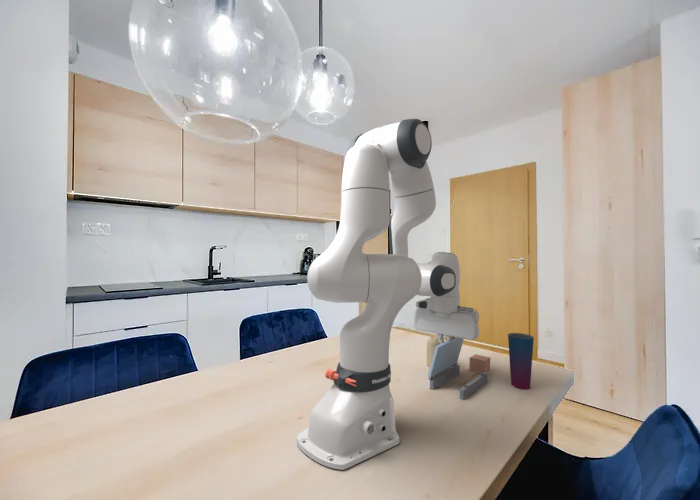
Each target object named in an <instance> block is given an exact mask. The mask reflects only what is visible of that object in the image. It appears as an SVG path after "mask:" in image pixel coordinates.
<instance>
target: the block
mask: <svg viewBox="0 0 700 500" xmlns="http://www.w3.org/2000/svg"><path fill="white" fill-rule="evenodd" d="M469 371H470V372H475V373H477V374H478V373H479V374H481V373H484V372H487V373H489V372H490V371H491V357H489V356H485V355H481V354H477V353H476V354H473V355H471V356H470V357H469Z"/></svg>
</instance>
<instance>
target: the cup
mask: <svg viewBox="0 0 700 500" xmlns="http://www.w3.org/2000/svg"><path fill="white" fill-rule="evenodd" d="M534 339H535V337H534V336H533V335H531V334H529V333H528V334H527V333H522V332H521V333H520V332H510V333H507V340H508V354H509V355H508V356H509V372H510V385H511V386H512V387H513V388H515V389H519V390H530V389H531V382H532V381H531V379H532V367H533V366H532V364H533V356H534V341H535V340H534Z"/></svg>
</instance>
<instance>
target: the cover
mask: <svg viewBox="0 0 700 500" xmlns="http://www.w3.org/2000/svg"><path fill="white" fill-rule="evenodd" d="M464 341H465V339H463V338H458V337H453V338H452V339H451V340H449V341H447V342H446V341H445V342H444V343H442V344H439V345H437V346H436V347H435V351H434V355H433V358H432V362H431V366H430V367H429V371H428V374H427V379H429V381H430V380H431V379H433V378H435V377H436V376H438V375H440V374H442V373H443V372H445V371H447V370H449V369H450V368H452V367H454V366H456V365H459V363H458V360H459V358H460V357H459V356H460V354H461V350H462V347H463V342H464Z"/></svg>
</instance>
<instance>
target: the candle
mask: <svg viewBox="0 0 700 500" xmlns="http://www.w3.org/2000/svg"><path fill="white" fill-rule="evenodd" d="M439 344H440V342H439V340H438V338H437V336H436V337H435V336H430V337H429V338H428V339H427V340H426V365H427V366H428V367H429V368H430V366H431V362H432V358H433V355H434V351H435V347H436V346H437V345H439Z"/></svg>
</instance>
